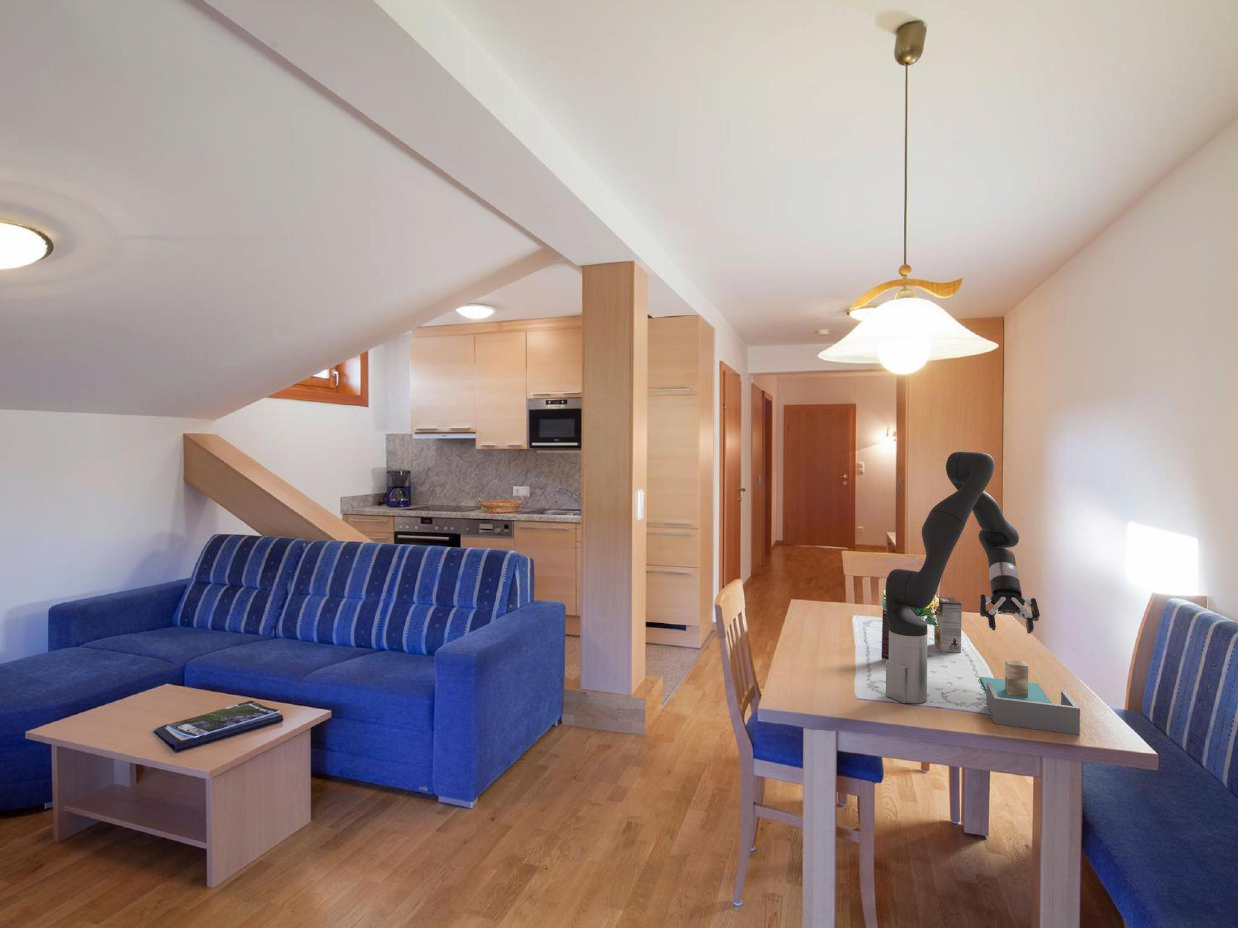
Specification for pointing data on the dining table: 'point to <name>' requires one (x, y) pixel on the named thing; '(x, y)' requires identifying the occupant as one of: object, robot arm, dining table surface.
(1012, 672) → the maple block
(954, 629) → the coffee box
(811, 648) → the dining table surface
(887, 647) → the supplement box
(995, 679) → the teal mat
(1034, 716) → the low gray barrier wall
